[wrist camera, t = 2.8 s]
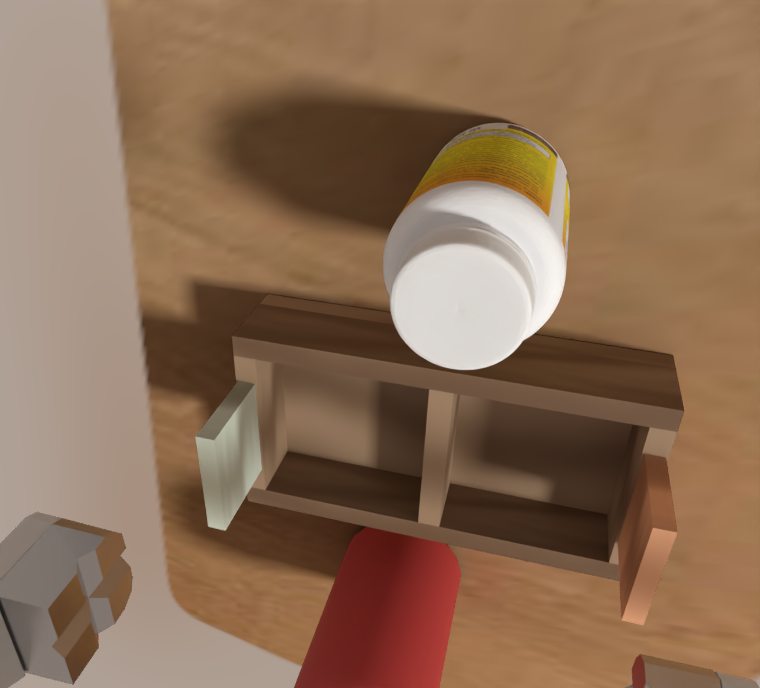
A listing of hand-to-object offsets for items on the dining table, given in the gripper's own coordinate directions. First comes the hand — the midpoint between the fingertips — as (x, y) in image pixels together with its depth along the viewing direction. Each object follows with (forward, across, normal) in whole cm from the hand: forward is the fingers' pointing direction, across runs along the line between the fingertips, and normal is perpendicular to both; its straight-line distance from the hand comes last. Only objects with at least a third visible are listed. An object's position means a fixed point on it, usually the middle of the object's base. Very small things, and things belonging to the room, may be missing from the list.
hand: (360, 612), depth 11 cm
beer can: (+20, +3, +22) cm, 30 cm away
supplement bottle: (+20, 0, 0) cm, 20 cm away
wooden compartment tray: (+20, +1, +11) cm, 23 cm away
